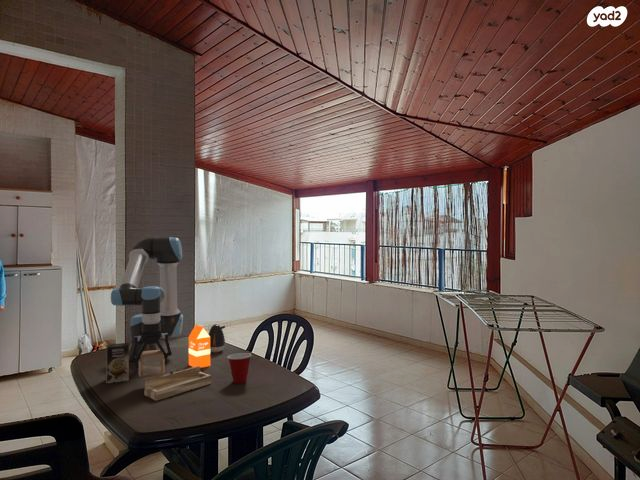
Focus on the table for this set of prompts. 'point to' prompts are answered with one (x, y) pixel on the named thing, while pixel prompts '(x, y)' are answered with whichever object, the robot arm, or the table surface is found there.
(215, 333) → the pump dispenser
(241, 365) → the plastic cup
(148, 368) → the wooden block
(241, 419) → the table surface
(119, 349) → the coffee box
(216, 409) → the table surface
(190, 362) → the orange juice
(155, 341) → the robot arm
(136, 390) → the table surface
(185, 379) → the wooden tray
